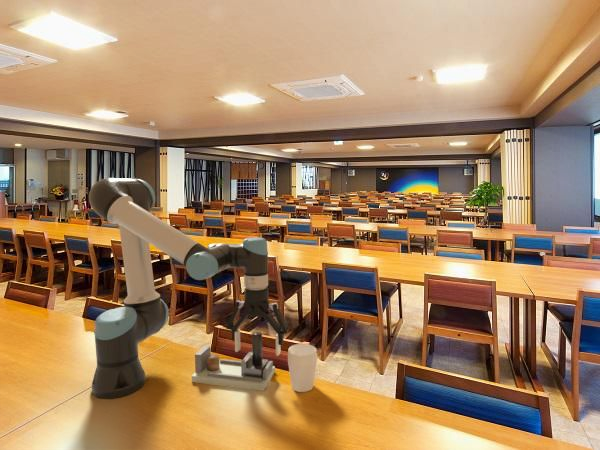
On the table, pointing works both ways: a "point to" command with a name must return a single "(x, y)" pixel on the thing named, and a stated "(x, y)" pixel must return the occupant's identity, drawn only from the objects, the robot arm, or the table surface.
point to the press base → (228, 373)
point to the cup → (302, 366)
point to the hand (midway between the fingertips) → (257, 352)
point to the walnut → (213, 362)
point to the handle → (254, 359)
